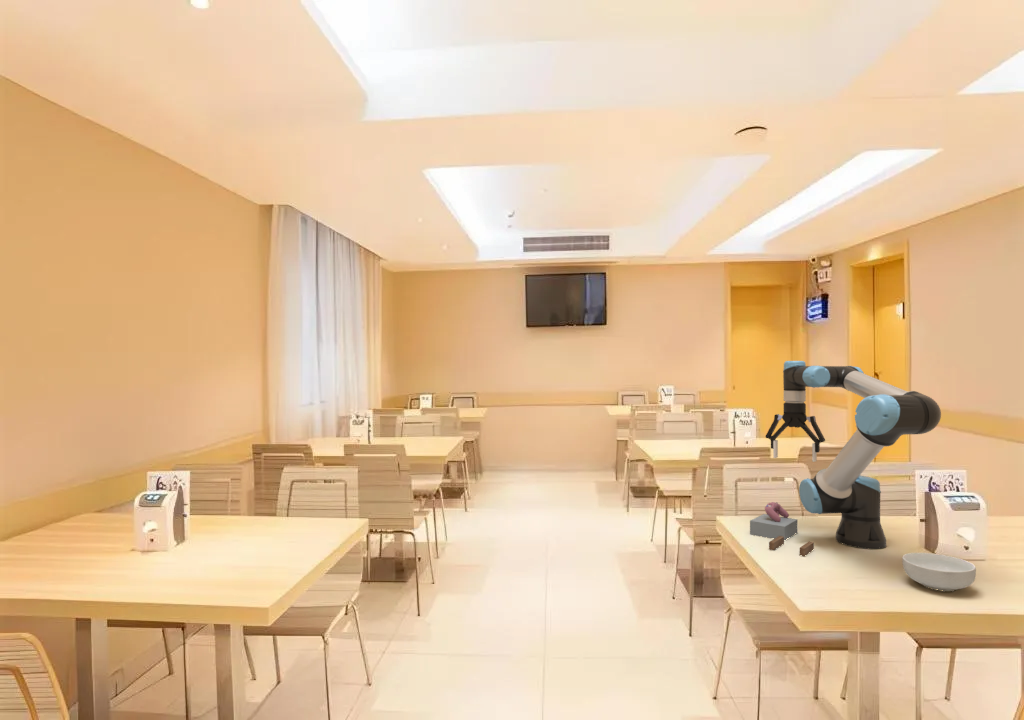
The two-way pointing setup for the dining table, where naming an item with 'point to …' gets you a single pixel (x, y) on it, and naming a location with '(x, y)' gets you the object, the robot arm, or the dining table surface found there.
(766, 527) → the charcoal stand
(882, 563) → the dining table surface
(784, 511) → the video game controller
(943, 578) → the cereal bowl
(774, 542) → the walnut guide rails
